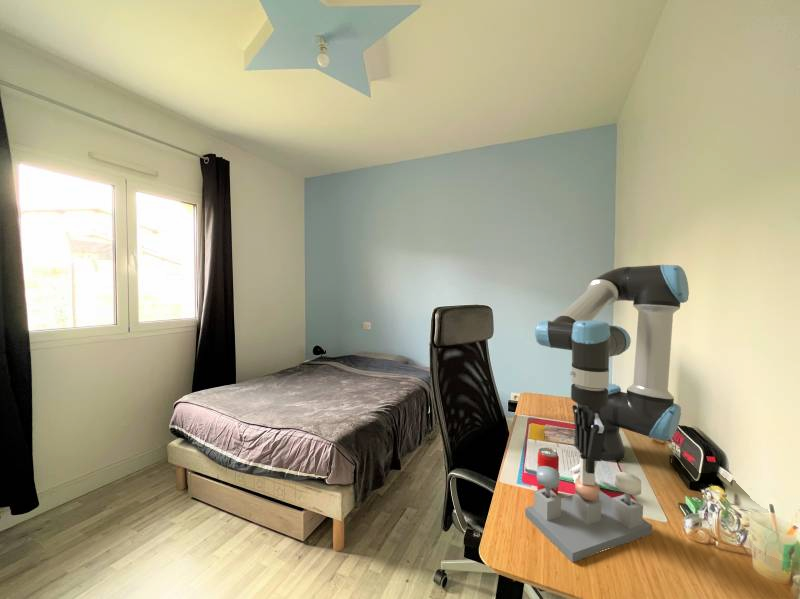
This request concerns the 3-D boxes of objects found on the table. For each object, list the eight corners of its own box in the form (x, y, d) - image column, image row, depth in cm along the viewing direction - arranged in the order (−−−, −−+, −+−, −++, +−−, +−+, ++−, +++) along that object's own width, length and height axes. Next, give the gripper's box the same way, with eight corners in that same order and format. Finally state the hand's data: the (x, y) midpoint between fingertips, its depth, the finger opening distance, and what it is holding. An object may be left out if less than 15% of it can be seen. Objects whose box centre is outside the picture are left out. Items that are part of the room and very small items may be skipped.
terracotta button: (585, 502, 78) (585, 475, 78) (603, 516, 73) (604, 487, 73) (569, 507, 76) (570, 479, 76) (587, 521, 71) (588, 492, 71)
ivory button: (624, 497, 76) (625, 470, 76) (645, 511, 72) (646, 482, 71) (609, 502, 75) (610, 474, 75) (630, 516, 70) (631, 486, 70)
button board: (596, 495, 85) (597, 472, 85) (652, 533, 72) (652, 506, 72) (525, 515, 78) (525, 490, 77) (572, 562, 64) (573, 532, 64)
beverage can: (560, 502, 82) (561, 458, 82) (539, 499, 83) (540, 456, 83) (554, 489, 88) (555, 448, 87) (535, 487, 89) (536, 446, 88)
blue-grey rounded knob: (547, 490, 79) (548, 464, 79) (563, 503, 74) (564, 475, 74) (531, 495, 77) (532, 468, 77) (547, 508, 73) (547, 479, 72)
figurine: (585, 495, 85) (586, 452, 85) (562, 478, 93) (563, 439, 92) (606, 489, 88) (607, 448, 87) (581, 473, 95) (582, 435, 95)
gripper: (562, 377, 81) (560, 466, 81) (584, 394, 68) (581, 499, 68) (593, 378, 79) (591, 468, 80) (621, 396, 67) (619, 503, 67)
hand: (587, 482), depth 74 cm, fingers closed
